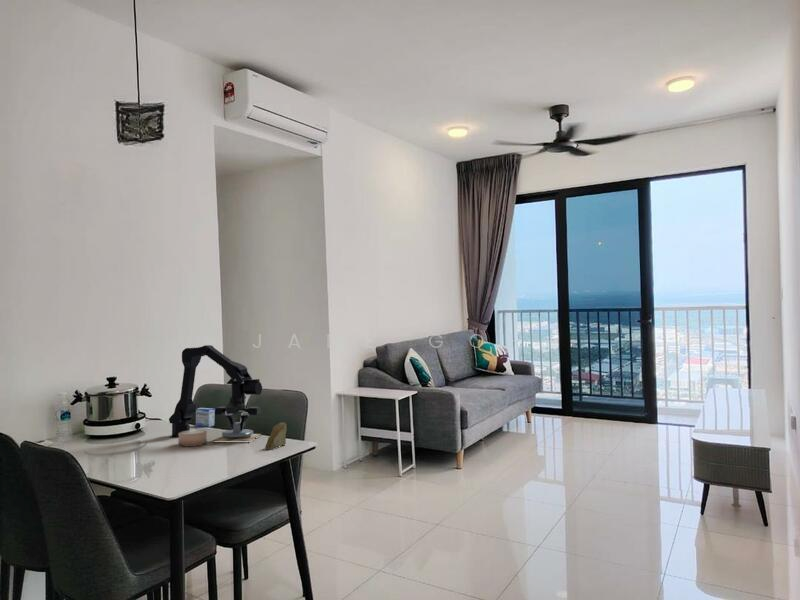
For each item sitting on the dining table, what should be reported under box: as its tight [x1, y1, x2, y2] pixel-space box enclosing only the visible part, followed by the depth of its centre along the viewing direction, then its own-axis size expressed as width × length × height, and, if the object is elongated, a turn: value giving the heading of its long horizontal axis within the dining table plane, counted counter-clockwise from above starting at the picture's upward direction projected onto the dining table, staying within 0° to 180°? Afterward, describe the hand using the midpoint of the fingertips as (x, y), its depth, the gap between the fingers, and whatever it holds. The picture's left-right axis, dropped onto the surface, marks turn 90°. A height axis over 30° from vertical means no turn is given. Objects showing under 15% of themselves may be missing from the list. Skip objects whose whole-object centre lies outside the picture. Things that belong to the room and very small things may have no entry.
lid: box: [221, 421, 254, 437], centre depth 233 cm, size 13×13×5 cm
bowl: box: [177, 429, 208, 447], centre depth 223 cm, size 11×11×5 cm
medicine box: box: [195, 407, 216, 428], centre depth 266 cm, size 8×4×9 cm, turn 73°
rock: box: [264, 421, 287, 450], centre depth 217 cm, size 11×9×10 cm
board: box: [212, 433, 262, 442], centre depth 232 cm, size 16×14×1 cm
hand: (237, 430), depth 233 cm, fingers closed on lid, 3 cm apart
